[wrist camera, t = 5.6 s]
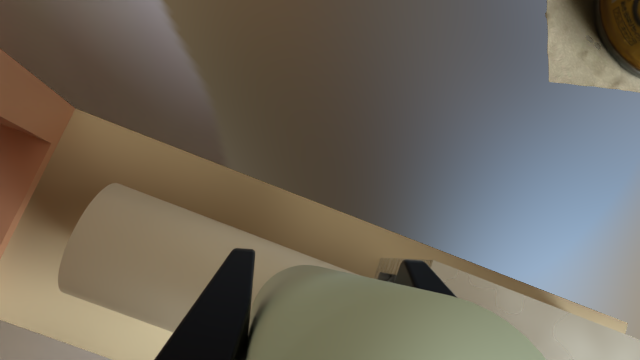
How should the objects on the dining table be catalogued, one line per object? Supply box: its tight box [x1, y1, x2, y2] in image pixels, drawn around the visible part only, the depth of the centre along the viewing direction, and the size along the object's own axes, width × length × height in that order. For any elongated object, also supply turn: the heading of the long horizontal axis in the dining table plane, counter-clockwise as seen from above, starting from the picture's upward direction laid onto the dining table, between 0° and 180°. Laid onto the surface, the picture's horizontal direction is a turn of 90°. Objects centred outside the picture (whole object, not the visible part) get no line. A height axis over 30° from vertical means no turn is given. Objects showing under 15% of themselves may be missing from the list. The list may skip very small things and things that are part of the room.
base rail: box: [0, 109, 628, 360], centre depth 16 cm, size 7×26×1 cm, turn 69°
